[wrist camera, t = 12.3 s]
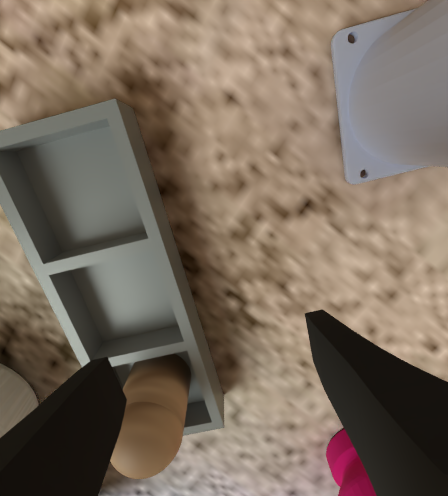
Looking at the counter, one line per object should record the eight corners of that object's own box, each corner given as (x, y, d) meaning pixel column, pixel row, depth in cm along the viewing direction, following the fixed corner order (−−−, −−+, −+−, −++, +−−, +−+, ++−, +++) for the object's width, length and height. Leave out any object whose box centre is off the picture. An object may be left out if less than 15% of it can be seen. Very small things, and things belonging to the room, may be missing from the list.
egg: (175, 342, 20) (154, 428, 14) (200, 388, 21) (190, 486, 15) (120, 361, 20) (75, 453, 14) (147, 405, 22) (117, 507, 15)
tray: (133, 108, 16) (115, 98, 13) (223, 395, 22) (224, 427, 20) (8, 142, 16) (-32, 139, 14) (133, 413, 23) (122, 447, 20)
